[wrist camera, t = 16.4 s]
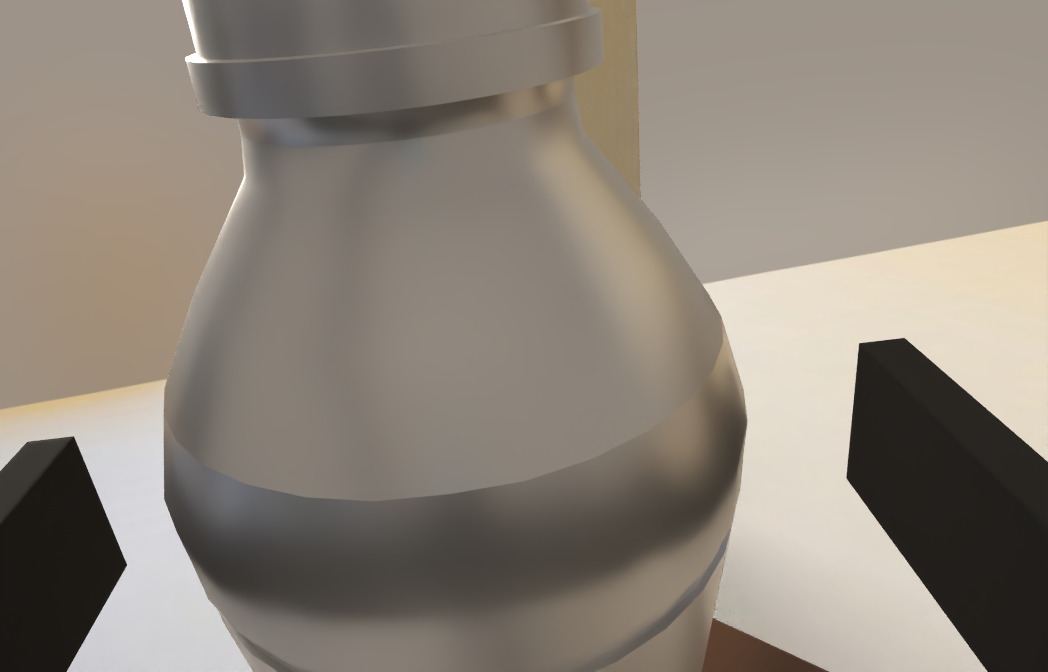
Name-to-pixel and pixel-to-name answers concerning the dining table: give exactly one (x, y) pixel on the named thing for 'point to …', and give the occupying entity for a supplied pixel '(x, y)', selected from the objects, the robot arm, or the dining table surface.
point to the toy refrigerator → (614, 92)
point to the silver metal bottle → (443, 357)
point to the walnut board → (747, 653)
